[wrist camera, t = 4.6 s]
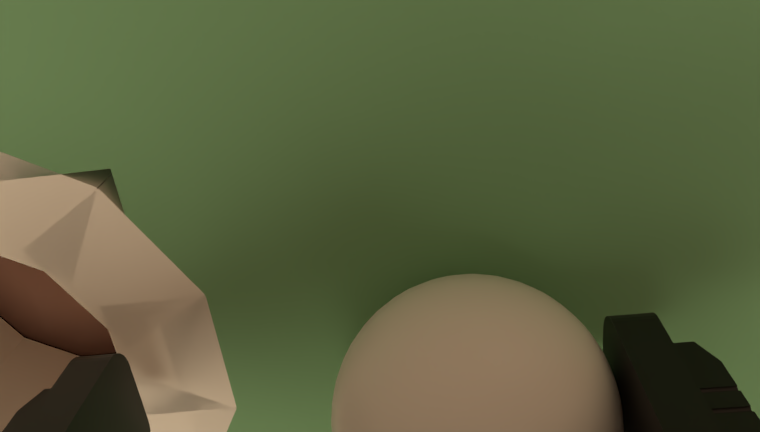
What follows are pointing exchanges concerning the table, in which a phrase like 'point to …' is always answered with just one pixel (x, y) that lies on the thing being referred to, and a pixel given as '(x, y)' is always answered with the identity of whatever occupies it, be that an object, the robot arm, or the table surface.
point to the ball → (475, 364)
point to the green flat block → (369, 179)
